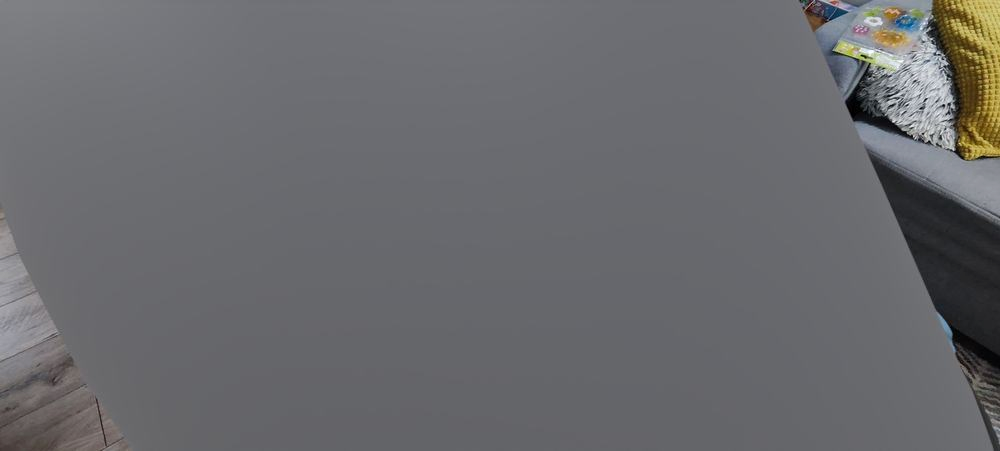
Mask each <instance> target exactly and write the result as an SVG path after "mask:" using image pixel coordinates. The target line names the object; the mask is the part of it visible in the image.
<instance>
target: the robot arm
mask: <svg viewBox="0 0 1000 451" xmlns="http://www.w3.org/2000/svg"><path fill="white" fill-rule="evenodd" d="M840 91H841V90H840V89H839V87H838V84H837V82H836V79H835V77H834V76H833V73H832V71H831V69H830V66H829V64H828V62H827V60H826V57H825V55H824V53H823V51H822V48H821V46H820V45H819V42H818V39H817V38H816V35H815V33H814V31H813V29H812V26H811V24H810V21H809V19H808V17H807V15H806V13H805V11H804V8H803V6H802V4H801V2H800V0H0V206H1V208H2V211H3V214H4V217H5V220H6V222H7V225H8V229H9V231H10V233H11V237H12V240H13V242H14V245H15V248H16V251H17V254H18V256H19V259H20V261H21V262H22V264H23V266H24V268H25V270H26V273H27V274H28V276H29V279H30V280H31V282H32V284H33V286H34V289H35V290H36V292H37V294H38V296H39V298H40V300H41V302H42V304H43V306H44V307H45V309H46V311H47V313H48V315H49V316H50V319H51V320H52V323H53V324H54V326H55V328H56V331H57V332H58V334H59V336H60V337H61V339H62V342H63V344H64V345H65V347H66V349H67V351H68V354H69V355H70V357H71V358H72V360H73V362H74V364H75V366H76V368H77V370H78V372H79V374H80V375H81V377H82V379H83V381H84V383H85V384H86V385H87V386H88V388H89V389H90V391H91V393H92V394H93V396H94V397H95V398H96V399H97V402H98V403H99V404H100V405H101V406H102V409H104V411H105V413H106V414H107V416H108V417H109V418H110V420H111V421H112V422H113V424H114V426H115V427H116V428H117V430H118V431H119V433H120V434H121V435H122V437H123V439H124V440H125V442H126V443H127V444H128V446H129V447H130V448H131V450H132V451H1000V439H999V437H998V434H997V433H996V431H995V428H994V425H993V422H992V420H991V418H990V417H989V414H988V412H987V411H986V409H985V407H984V405H983V403H982V402H981V399H980V398H979V395H978V394H977V392H976V390H975V388H974V386H973V385H972V383H971V382H970V379H969V378H968V376H967V374H966V373H965V372H964V370H963V369H962V368H961V364H960V363H959V360H958V358H957V355H956V348H955V346H954V343H953V332H952V329H951V328H950V325H948V323H947V321H946V320H945V319H944V318H943V316H942V315H941V314H940V313H939V312H938V311H937V309H936V308H935V305H934V303H933V301H932V298H931V296H930V294H929V290H928V289H927V286H926V285H925V282H924V280H923V277H922V275H921V272H920V270H919V268H918V265H917V263H916V261H915V259H914V257H913V254H912V252H911V250H910V247H909V244H908V242H907V241H906V238H905V236H904V233H903V231H902V229H901V227H900V224H899V222H898V220H897V218H896V215H895V213H894V211H893V207H892V206H891V204H890V201H889V199H888V197H887V194H886V192H885V190H884V188H883V185H882V182H881V181H880V178H879V176H878V174H877V172H876V170H875V167H874V165H873V163H872V161H871V158H870V156H869V153H868V151H867V150H866V146H865V145H864V143H863V140H862V138H861V136H860V133H859V131H858V129H857V127H856V125H855V123H854V120H853V118H852V116H851V113H850V111H849V108H848V107H847V104H846V102H845V100H844V98H843V95H842V93H841V92H840Z"/></svg>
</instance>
